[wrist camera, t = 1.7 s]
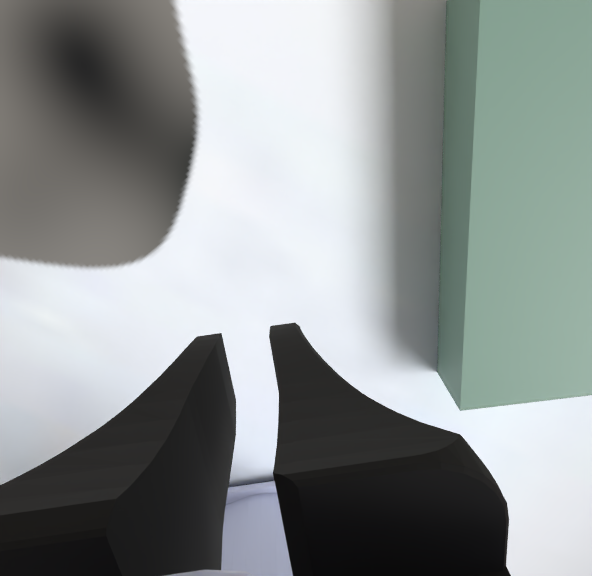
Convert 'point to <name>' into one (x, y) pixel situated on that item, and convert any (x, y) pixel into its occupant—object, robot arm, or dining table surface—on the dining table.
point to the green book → (516, 202)
